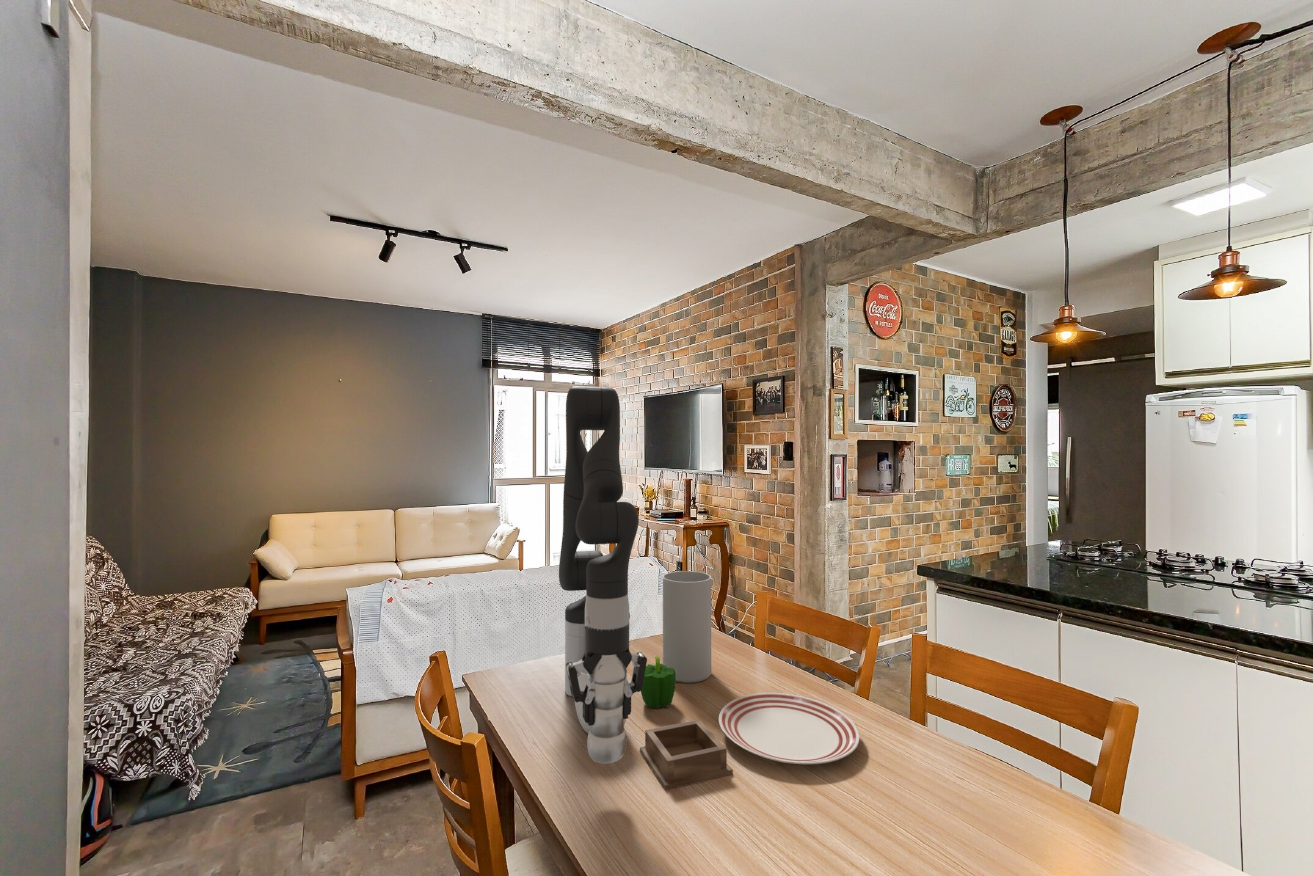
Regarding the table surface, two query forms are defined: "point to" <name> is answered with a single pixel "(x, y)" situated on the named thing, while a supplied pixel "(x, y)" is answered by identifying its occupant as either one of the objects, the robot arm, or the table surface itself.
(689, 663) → the cylinder vase
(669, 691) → the bell pepper
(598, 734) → the plastic bottle
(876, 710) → the table surface
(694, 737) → the bottle stand
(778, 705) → the dinner plate
